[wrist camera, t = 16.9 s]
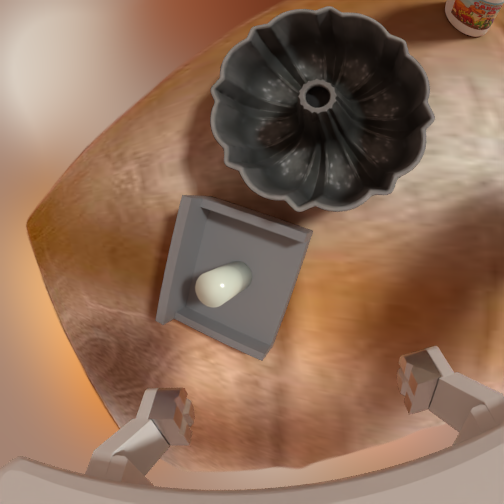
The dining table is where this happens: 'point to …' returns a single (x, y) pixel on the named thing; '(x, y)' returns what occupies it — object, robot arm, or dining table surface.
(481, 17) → the milk bottle
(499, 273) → the dining table surface
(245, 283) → the dome-topped cream cylinder
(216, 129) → the bundt pan
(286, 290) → the grey open tray
